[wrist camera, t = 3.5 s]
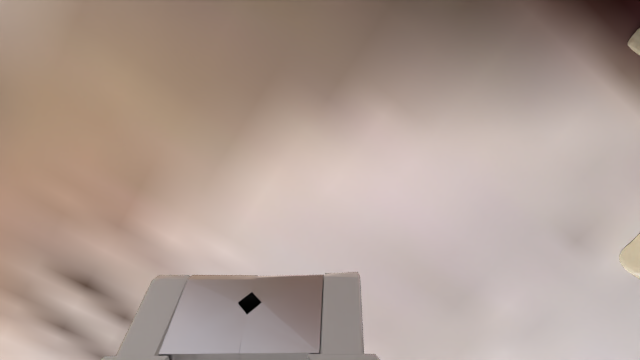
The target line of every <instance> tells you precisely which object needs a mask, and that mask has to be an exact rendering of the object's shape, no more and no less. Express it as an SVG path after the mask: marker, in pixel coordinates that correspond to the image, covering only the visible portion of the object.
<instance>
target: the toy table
mask: <svg viewBox="0 0 640 360" xmlns="http://www.w3.org/2000/svg"><path fill="white" fill-rule="evenodd" d="M627 45H628V46H629V47H630V48H631V49H632V50H633V51H634V52H636V53H637V54H638V55H640V28H639V29H638V30H637V31H636V32H635V33H634V34H633V35H632V37H631V38H630V40H629V41H628V44H627ZM619 259H620V263H621V265H622V266H623V267H624V268H625V269H626V270H627V271H628V272H629V273H631V274H632V275H634V276H635V277H637V278H639V279H640V234H639V235H638V236H637V237H636V238H635V239H634V240H633V241H632V242H631V243H629V244H628V245H627V246H626V247H625V248H624V249H623V250H622V252H621V254H620V256H619Z"/></svg>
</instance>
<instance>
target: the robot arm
mask: <svg viewBox="0 0 640 360" xmlns="http://www.w3.org/2000/svg"><path fill="white" fill-rule="evenodd" d="M101 360H380V359H379V358H378V357H377V356H376V355H375V354H364V343H363V323H362V303H361V284H360V275H359V273H358V272H346V273H325V275H279V276H258V275H192V276H189V275H159V276H157V277H156V278H155V279H153V280H152V282H151V284H150V286H149V288H148V290H147V292H146V294H145V296H144V298H143V300H142V302H141V304H140V306H139V308H138V311H137V313H136V315H135V317H134V319H133V321H132V323H131V325H130V327H129V329H128V331H127V333H126V335H125V338H124V340H123V342H122V344H121V346H120V348H119V350H118V352H117V354H116V356H105V357H103V358H102V359H101Z"/></svg>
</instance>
